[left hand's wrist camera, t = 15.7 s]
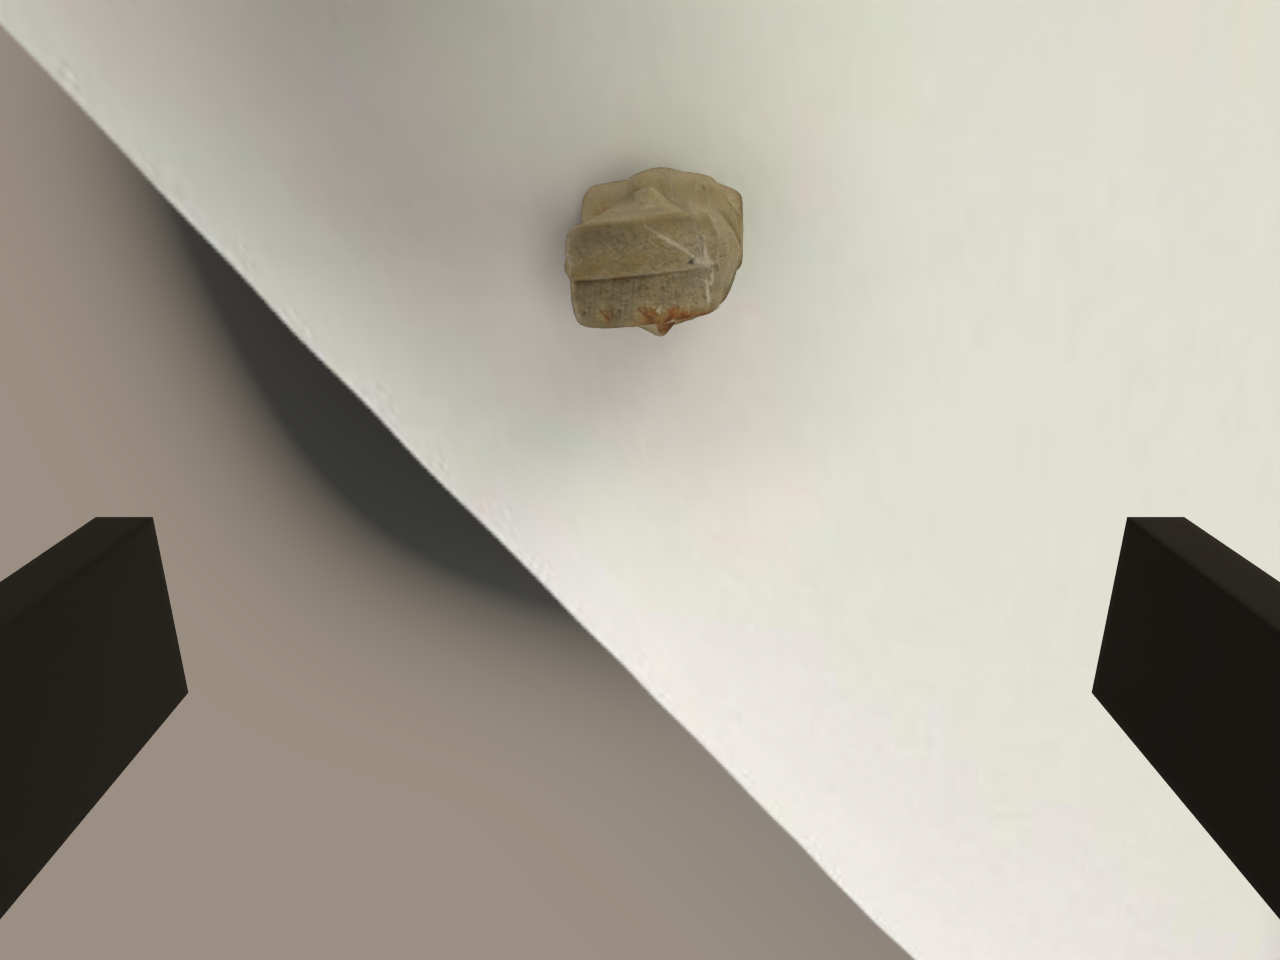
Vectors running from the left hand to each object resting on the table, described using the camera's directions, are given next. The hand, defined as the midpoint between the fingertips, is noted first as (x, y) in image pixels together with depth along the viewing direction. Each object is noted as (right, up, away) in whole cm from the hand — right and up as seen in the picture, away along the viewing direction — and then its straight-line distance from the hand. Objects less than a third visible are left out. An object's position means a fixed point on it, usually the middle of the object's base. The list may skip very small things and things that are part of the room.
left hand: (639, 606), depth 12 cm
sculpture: (+1, +14, +30) cm, 33 cm away
